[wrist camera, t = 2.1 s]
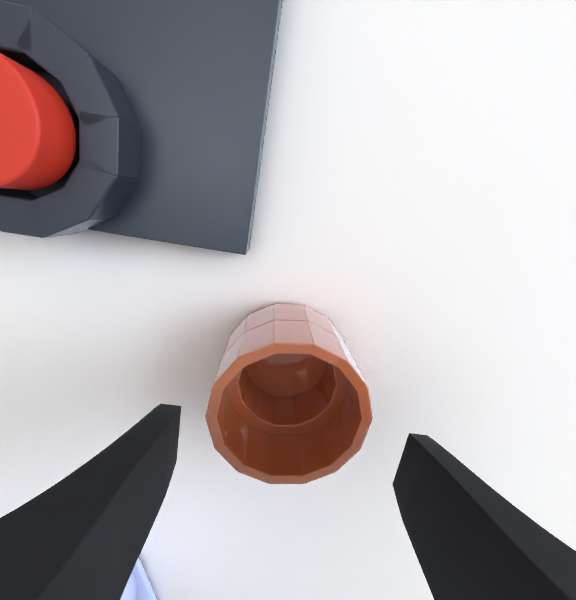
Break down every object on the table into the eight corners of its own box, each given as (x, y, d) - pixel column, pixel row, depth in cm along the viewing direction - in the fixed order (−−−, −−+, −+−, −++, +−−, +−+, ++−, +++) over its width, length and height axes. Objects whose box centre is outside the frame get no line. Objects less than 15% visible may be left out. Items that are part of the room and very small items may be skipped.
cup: (242, 415, 17) (229, 497, 12) (214, 311, 15) (187, 359, 10) (349, 395, 17) (379, 470, 12) (333, 289, 15) (360, 326, 10)
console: (248, 255, 15) (240, 269, 11) (-110, 197, 13) (-239, 194, 10) (289, -51, 12) (295, -158, 8) (-169, -163, 10) (-384, -343, 7)
